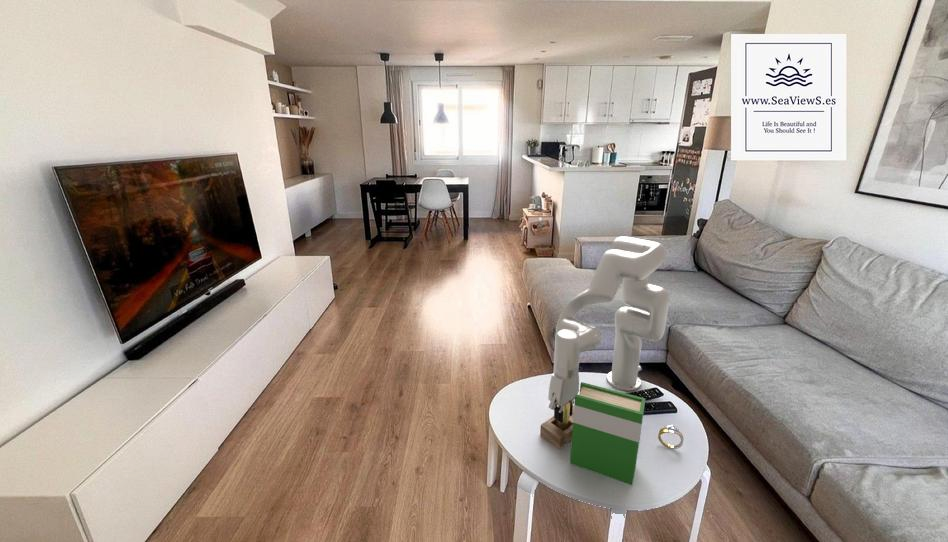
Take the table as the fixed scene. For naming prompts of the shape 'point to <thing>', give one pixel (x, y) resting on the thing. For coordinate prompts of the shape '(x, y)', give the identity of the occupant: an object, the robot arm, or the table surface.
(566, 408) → the peg
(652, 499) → the table surface
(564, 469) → the table surface
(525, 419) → the table surface
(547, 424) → the eye block
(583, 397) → the hardback book
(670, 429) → the ring
